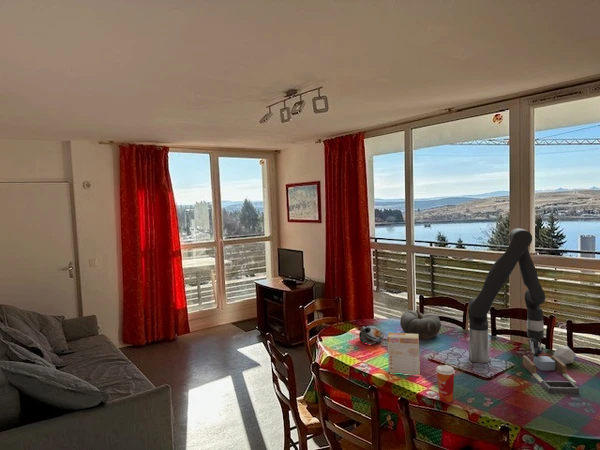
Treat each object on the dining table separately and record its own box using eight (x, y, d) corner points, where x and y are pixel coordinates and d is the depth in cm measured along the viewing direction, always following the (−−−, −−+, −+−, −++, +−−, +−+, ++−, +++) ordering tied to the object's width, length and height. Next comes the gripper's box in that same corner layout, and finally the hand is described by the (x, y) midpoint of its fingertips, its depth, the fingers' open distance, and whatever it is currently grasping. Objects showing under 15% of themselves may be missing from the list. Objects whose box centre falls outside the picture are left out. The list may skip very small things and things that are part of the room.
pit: (549, 393, 176) (549, 387, 176) (542, 385, 183) (542, 380, 183) (579, 393, 174) (579, 388, 174) (570, 386, 181) (570, 381, 181)
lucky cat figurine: (384, 339, 254) (387, 323, 246) (379, 352, 244) (383, 336, 237) (361, 331, 258) (364, 315, 251) (355, 343, 249) (358, 327, 242)
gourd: (397, 325, 272) (400, 301, 269) (434, 331, 269) (439, 306, 266) (400, 341, 248) (404, 315, 245) (441, 348, 245) (446, 321, 242)
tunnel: (532, 375, 194) (532, 364, 194) (522, 365, 206) (522, 355, 206) (566, 375, 192) (566, 365, 192) (554, 365, 204) (554, 355, 203)
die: (575, 368, 200) (581, 350, 203) (558, 359, 202) (564, 341, 204) (564, 368, 208) (570, 350, 211) (548, 359, 210) (554, 342, 212)
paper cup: (433, 396, 178) (432, 365, 178) (450, 394, 179) (449, 363, 178) (441, 404, 170) (440, 372, 170) (458, 403, 171) (458, 371, 170)
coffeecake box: (420, 371, 205) (418, 333, 204) (419, 377, 198) (418, 338, 197) (390, 368, 210) (388, 331, 208) (388, 374, 203) (387, 336, 202)
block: (540, 370, 199) (540, 361, 199) (533, 365, 206) (533, 356, 206) (555, 370, 199) (555, 361, 198) (547, 364, 206) (547, 356, 205)
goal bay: (540, 383, 185) (540, 381, 185) (532, 375, 194) (532, 373, 194) (576, 384, 183) (576, 382, 183) (566, 375, 192) (566, 373, 192)
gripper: (522, 324, 214) (522, 355, 215) (533, 332, 201) (533, 365, 202) (537, 324, 213) (537, 355, 214) (549, 332, 200) (549, 366, 201)
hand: (535, 360), depth 208 cm, fingers closed
